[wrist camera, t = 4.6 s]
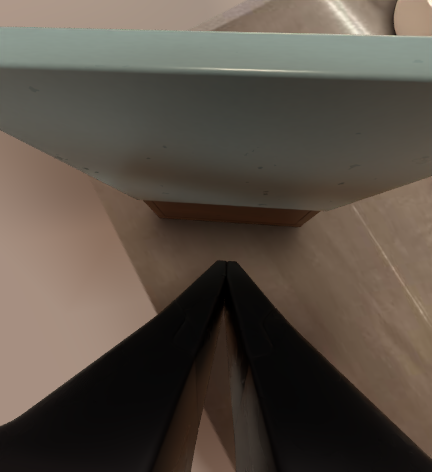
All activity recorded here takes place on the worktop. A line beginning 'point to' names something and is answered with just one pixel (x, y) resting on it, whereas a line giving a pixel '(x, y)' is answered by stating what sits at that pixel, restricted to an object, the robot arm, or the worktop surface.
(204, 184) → the lid
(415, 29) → the pot
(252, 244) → the worktop surface
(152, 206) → the chest
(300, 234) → the worktop surface
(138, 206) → the worktop surface
